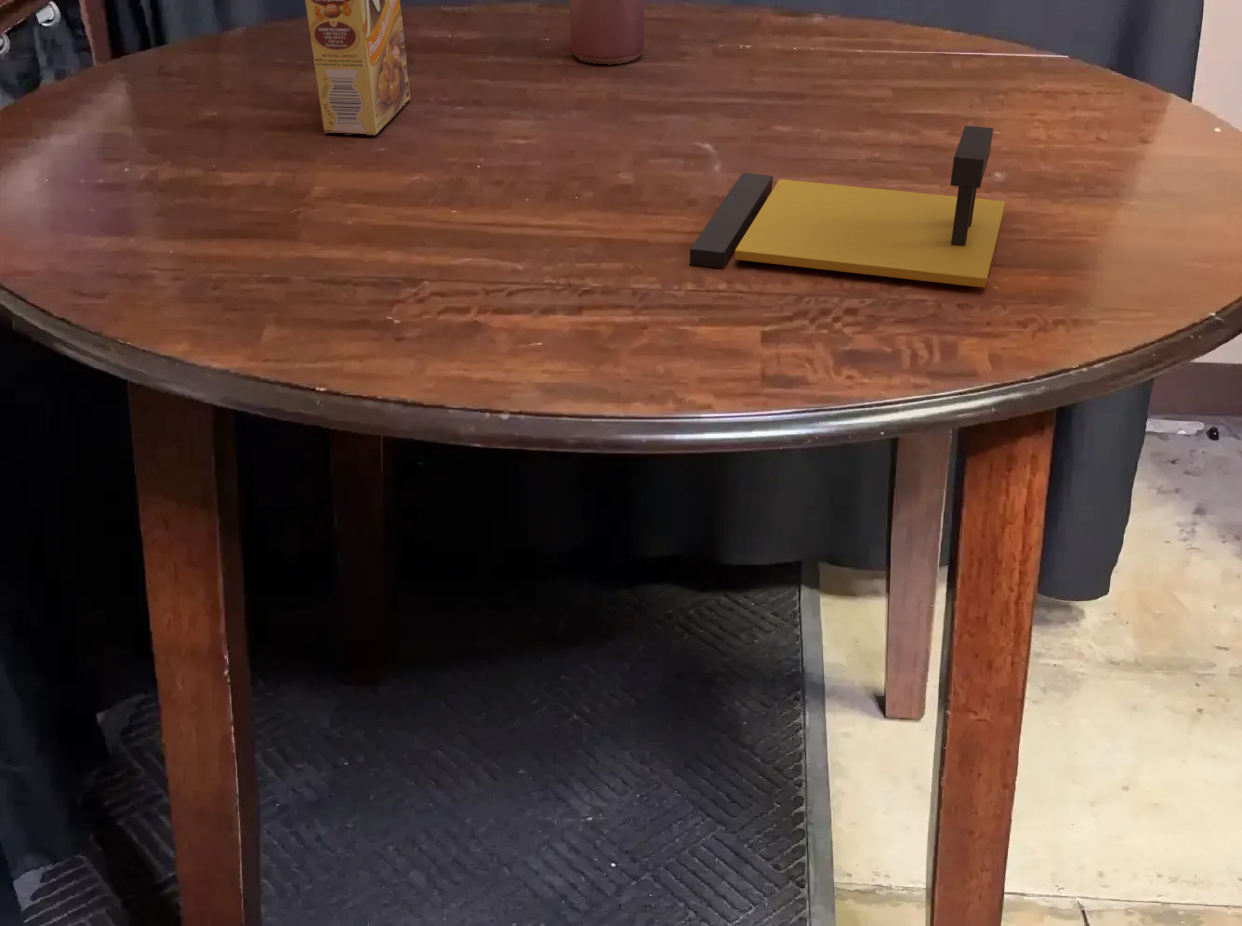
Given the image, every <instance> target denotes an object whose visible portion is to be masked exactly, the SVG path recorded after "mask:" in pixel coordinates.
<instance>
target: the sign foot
mask: <svg viewBox="0 0 1242 926" xmlns="http://www.w3.org/2000/svg"><path fill="white" fill-rule="evenodd" d="M773 178H774V177H773V175H769V174H759V173H749V172H742V173H741V174H740V176H739V177H738V179H737V180H736V182H734V185H733V186H732V188H731V189H730V190H729V192H728V193H727V195H726V196H725V197H724V199H723V200H722V202H721V203H720V205H719V206H718V208H717V209H716V211H715V212H714V214H713V215H712V216H711V218H710V219H709V221H708V222H707V224H706V225H705V227H704V228H703V229H702V231H701V232H700V234H699V235H698V237H697V238H696V239H695V241H694V243H693V244H692V245H691V247H690V248H689V264H690V265H691V266H700V267H706V268H707V267H709V268H716V269H717V268H718V269H724V268H725V266H726V264H727V263H728V261H729V260H730V258H731V256H732V255H733V253H735V250H736V248H737V246H738V245H739V243H740V242H741V240H742V238H743V237H744V235H745V234H746V232H747V230H748V229H749V227H750V226H751V224H752V222H753V221H754V219H755V218H756V216H757V214H758V213H759V211H760V210H761V208H762V206H763V205H764V203H765V202H766V200H767V198H768V197H769V195H770V193H771V192H772V190H773V182H774V181H773Z"/></svg>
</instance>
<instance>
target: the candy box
mask: <svg viewBox="0 0 1242 926" xmlns="http://www.w3.org/2000/svg"><path fill="white" fill-rule="evenodd" d="M304 1H305V8H306V16H307V23H308V29H309V35H310V45H311V50H312V55H313V56H312V57H313V62H314V70H315V77H316V85H317V90H318V91H317V92H318V98H319V105H320V112H321V119H322V126H323V131H324V130H331V131H339V132H341V131H342V132H347V133H360V134H366V135H365V136H371V135H373V136H374V137H375V136H376V135H377V134H378V133H380V131H381V130H382V129H383V128H384V127H385V126H386V125H387V124H388V123H389V122H390V121H391V120H392V119H393V118H394V117H395V116H396V114H398V112H399V111H400V110H401V109H402V108H403V107H404V106H406V104H405V103H406V102H407V101H408V100H409V99H410V100H411V92H410V91H411V90H410V82H409V72H408V64H407V53H406V45H405V43H406V42H405V34H404V26H403V25H404V23H403V15H402V8H401V7H402V6H401V0H304ZM402 106H403V107H402Z"/></svg>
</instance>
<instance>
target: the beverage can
mask: <svg viewBox="0 0 1242 926" xmlns="http://www.w3.org/2000/svg"><path fill="white" fill-rule="evenodd" d="M569 24H570V27H569V28H570V50H571V52H572V53H573V55H574V56H576V57H577V58H578V59H581V60H582V61H585V62H589V63H593V64H592V65H596V64H608V65H607V66H614V65H613V64H618V65H623V63H625V64H628V63H627V62H629V63H632V62H634V61H636V60H638V59H639V58H640V56H641V55H642V53H643V51H644V48H645V0H569ZM576 57H575V58H576ZM577 58H576V59H577ZM637 58H638V59H637ZM578 59H577V60H578ZM582 61H581V62H582ZM631 61H632V62H631ZM585 62H584V63H585ZM589 63H588V64H589Z"/></svg>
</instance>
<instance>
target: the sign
mask: <svg viewBox="0 0 1242 926" xmlns="http://www.w3.org/2000/svg"><path fill="white" fill-rule="evenodd" d="M993 134H994V128H993V127H986V126H985V127H984V126H973V125H964V128H963V131H962V134H961V137H960V139H959V142H958V145H957V148H956V151H955V154H954V157H953V161H952V169H951V176H950V177H951V178H950V186H951V187H958V189H957V195H956V196H955V195H945V194H935V193H926V192H925V193H924V192H916V191H906V190H905V191H904V190H895V189H884V188H874V187H865V186H855V185H854V186H853V185H843V184H833V183H822V182H814V181H813V182H812V181H802V180H794V179H783V178H780V179H778V181H777V182H776V183H775V186H774V187H773V188H772V191H771V192H770V194H769V196H768V197H767V199H766V200H765V202H764V204H763V205H762V207H761V208H760V210H759V212H758V213H757V215H756V216H755V218H754V220H753V221H752V223H751V224H750V226H749V228H748V229H747V231H746V232H745V234H744V236H743V237H742V239H741V240H740V242H739V244H738V245H737V247H736V248H735V250H734V260H736V261H744V262H755V263H764V264H771V265H781V266H788V267H790V266H791V267H796V268H797V267H798V268H807V269H815V270H824V271H833V272H841V273H852V274H860V275H868V276H877V277H887V278H896V279H904V280H911V281H913V280H914V281H921V282H929V283H939V284H948V285H958V286H965V287H966V286H967V287H975V288H983V289H984V288H986V286H987V283H988V277H989V274H990V269H991V266H992V261H993V257H994V253H995V250H996V245H997V241H998V238H999V237H998V236H999V233H1000V229H1001V225H1002V220H1003V217H1004V212H1005V207H1006V201H1005V200H996V199H987V198H977V197H976V196H977V189H980V188H981V187H982V183H983V179H984V176H985V172H986V168H987V165H988V161H989V158H990V155H991V147H992V142H993Z"/></svg>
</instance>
